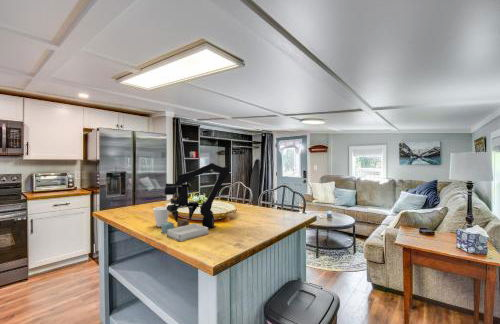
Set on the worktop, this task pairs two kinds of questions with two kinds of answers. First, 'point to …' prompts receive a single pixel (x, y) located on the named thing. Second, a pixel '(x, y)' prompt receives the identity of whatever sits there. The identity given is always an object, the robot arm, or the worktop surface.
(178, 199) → the robot arm
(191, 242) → the worktop surface
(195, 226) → the tray
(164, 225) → the teal block
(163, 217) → the cup
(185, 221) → the walnut block
